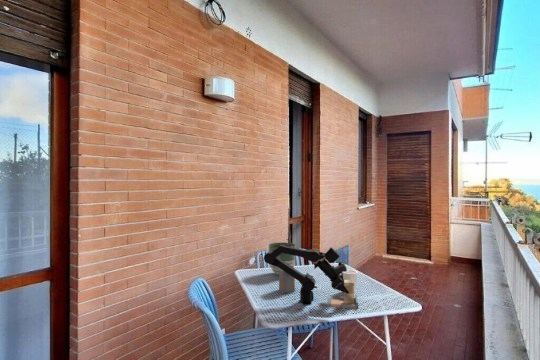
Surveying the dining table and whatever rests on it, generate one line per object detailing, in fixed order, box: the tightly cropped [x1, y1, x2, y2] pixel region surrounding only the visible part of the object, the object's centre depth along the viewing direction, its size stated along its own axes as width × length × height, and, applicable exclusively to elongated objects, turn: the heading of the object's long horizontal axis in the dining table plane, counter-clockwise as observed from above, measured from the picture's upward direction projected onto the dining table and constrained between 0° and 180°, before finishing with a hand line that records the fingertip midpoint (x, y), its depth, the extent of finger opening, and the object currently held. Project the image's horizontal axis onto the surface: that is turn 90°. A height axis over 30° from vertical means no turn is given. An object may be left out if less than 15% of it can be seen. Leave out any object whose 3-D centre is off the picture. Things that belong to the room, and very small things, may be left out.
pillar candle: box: [278, 268, 296, 294], centre depth 197 cm, size 10×10×15 cm
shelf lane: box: [326, 294, 359, 309], centre depth 173 cm, size 16×12×4 cm
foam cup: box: [342, 269, 359, 294], centre depth 191 cm, size 10×9×13 cm
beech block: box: [343, 280, 355, 305], centre depth 172 cm, size 5×5×12 cm
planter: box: [268, 242, 297, 276], centre depth 232 cm, size 20×20×21 cm
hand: (348, 290), depth 172 cm, fingers open, 9 cm apart
